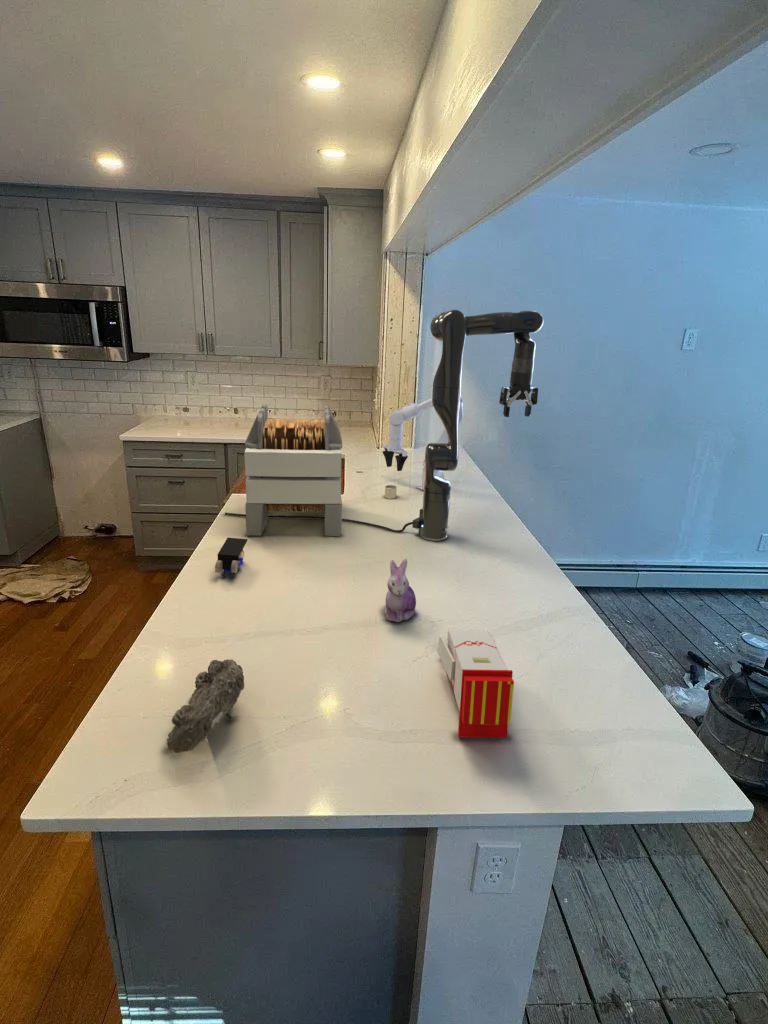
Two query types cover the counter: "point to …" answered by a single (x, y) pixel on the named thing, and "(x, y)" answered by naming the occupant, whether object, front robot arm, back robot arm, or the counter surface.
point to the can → (390, 491)
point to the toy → (478, 682)
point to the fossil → (206, 705)
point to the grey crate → (293, 470)
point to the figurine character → (230, 556)
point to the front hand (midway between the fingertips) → (516, 416)
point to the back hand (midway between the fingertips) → (394, 468)
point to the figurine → (399, 594)
